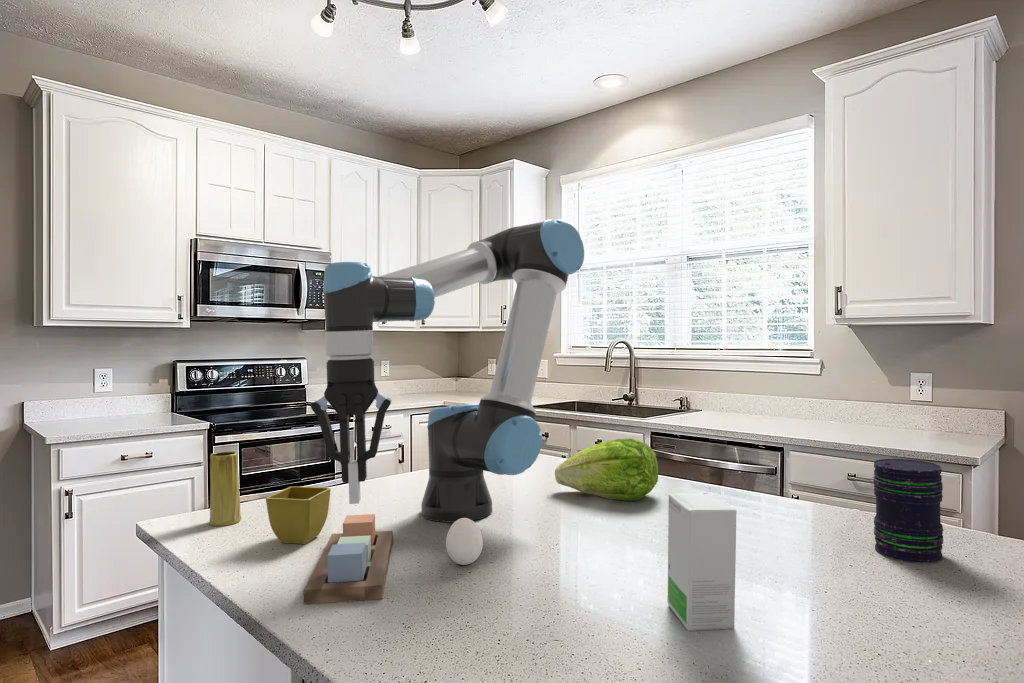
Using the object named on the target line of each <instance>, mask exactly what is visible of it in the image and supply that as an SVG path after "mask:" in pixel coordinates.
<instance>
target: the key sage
mask: <svg viewBox="0 0 1024 683" xmlns="http://www.w3.org/2000/svg"><path fill="white" fill-rule="evenodd" d="M349 543H366V562H371V535H369V536H351V537H340V539H339V541H338V543H337V544H349Z"/></svg>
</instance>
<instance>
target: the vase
mask: <svg viewBox="0 0 1024 683" xmlns="http://www.w3.org/2000/svg"><path fill="white" fill-rule="evenodd" d="M209 460H210V461H209V479H210V486H209V487H210V494H209V497H210V498H209V499H210V500H209V521H208V522H209V523H208V524H209V525H210V526H213V527H226V526H231V525H235V524H237V523H239V522H241V520H242V516H241V499H240V488H239V487H240V482H239V467H238V452H237V451H232V450H229V451H219V452H213V453H210V455H209Z"/></svg>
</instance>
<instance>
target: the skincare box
mask: <svg viewBox="0 0 1024 683" xmlns="http://www.w3.org/2000/svg"><path fill="white" fill-rule="evenodd" d="M667 523H668V524H667V525H668V526H667V527H668V528H667V532H668V533H667V534H668V535H667V536H668V537H667V597H666V598H667V605H668V606H669V608H670V609H671V611H672V612H673V613H674V614H675V616H677V618H678V620H679V621H680V622H681V623H682V625H683V626H684V627H685V629H686V630H687V631H688V632H697V631H709V630H712V631H715V630H716V631H717V630H731V629H735V607H736V606H735V605H736V604H735V603H736V600H735V598H736V597H735V596H736V563H737V562H736V558H737V557H736V554H737V553H736V552H737V550H736V549H737V509H735V508H733V507H732V506H731V505H730V504H728V503H727V501H726V500H724V499H722V498H720V497H718V496H716V494H714V493H712V492H710V491H709V492H707V491H706V492H684V493H683V492H681V493H680V492H678V493H668V522H667Z"/></svg>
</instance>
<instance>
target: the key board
mask: <svg viewBox="0 0 1024 683" xmlns="http://www.w3.org/2000/svg"><path fill="white" fill-rule="evenodd" d="M340 537H343V532H341V533H340V532H339V533H332V534H331V535H330V537H329V539H328V540H327V542H326V545H325V547H324V548H323V551H322V553H321V554H320V557H319V558H318V561H317V563H316V564H315V567H313V568H314V569H313V571H312V572H311V575H310V576H309V578H308V580H307V582H306V584H305V586H304V588H303V590H302V594H303V605H310V604H311V605H312V604H327V603H329V604H330V603H339V602H355V601H356V602H357V601H372V600H383V599H384V592H385V588H386V582H387V577H388V571H389V566H390V560H391V554H392V550H393V546H394V530H379V531H378V530H377V531H376V530H375V539H374V543H373V545H371V562H366V571H365V575H364V578H363V580H362V581H347V582H331V583H328V557H327V555H328V553H329V551H330V549H331V547H332V545H333V544H337V543H338V541H339V539H340Z"/></svg>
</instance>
